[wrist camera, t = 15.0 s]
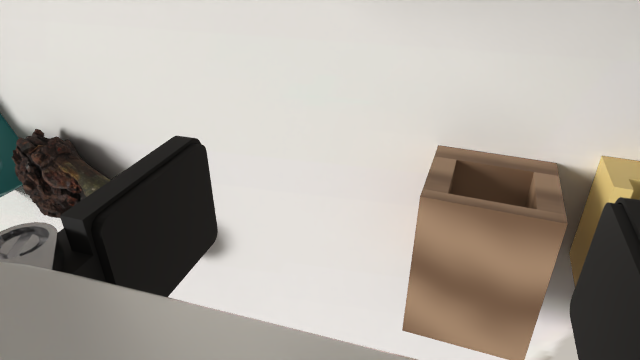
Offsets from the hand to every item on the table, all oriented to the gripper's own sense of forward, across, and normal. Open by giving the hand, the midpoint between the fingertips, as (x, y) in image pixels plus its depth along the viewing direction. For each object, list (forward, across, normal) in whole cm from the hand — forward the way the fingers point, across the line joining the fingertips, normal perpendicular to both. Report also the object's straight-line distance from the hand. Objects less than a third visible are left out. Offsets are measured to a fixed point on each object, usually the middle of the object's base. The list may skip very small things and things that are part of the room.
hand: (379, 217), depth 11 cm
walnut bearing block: (+23, -4, +14) cm, 27 cm away
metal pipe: (+26, +27, +20) cm, 43 cm away
